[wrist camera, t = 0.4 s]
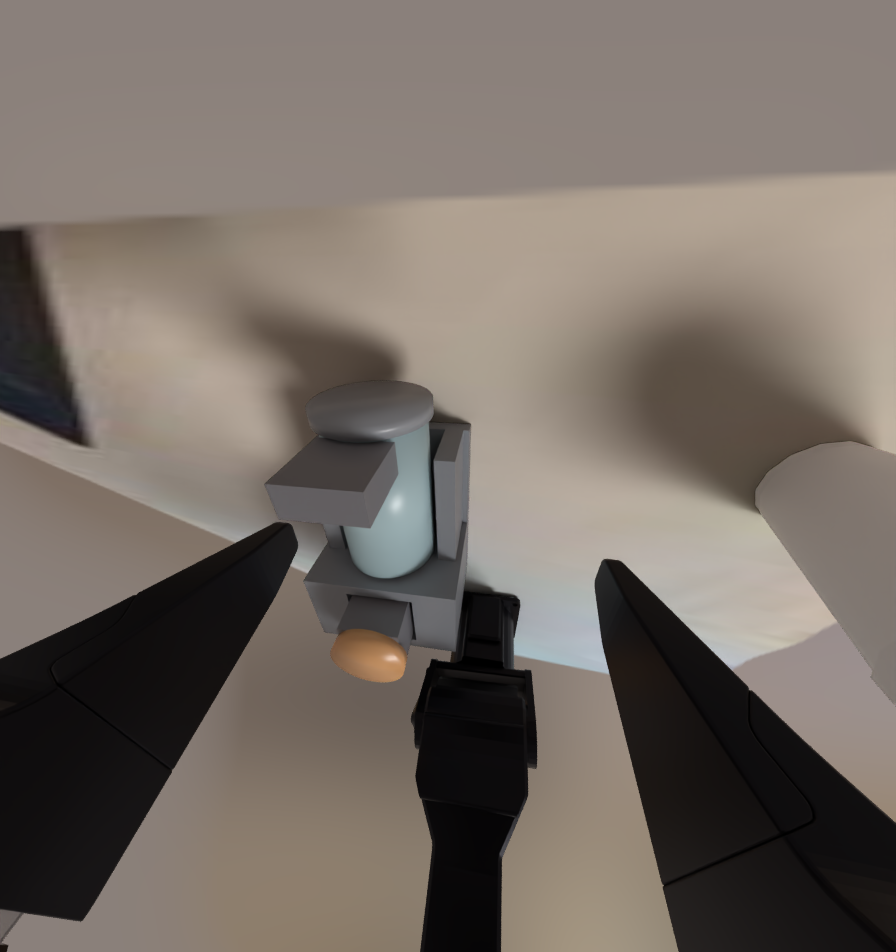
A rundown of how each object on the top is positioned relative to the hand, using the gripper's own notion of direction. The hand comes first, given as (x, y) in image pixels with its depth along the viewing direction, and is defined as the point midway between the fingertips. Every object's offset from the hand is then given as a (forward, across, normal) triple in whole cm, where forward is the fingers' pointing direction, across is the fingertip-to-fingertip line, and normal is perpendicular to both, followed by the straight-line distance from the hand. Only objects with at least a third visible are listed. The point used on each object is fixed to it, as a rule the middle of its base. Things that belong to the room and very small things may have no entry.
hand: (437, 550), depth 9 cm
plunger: (+7, +5, +13) cm, 16 cm away
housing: (+14, +5, +8) cm, 17 cm away
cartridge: (+13, +5, +4) cm, 14 cm away
